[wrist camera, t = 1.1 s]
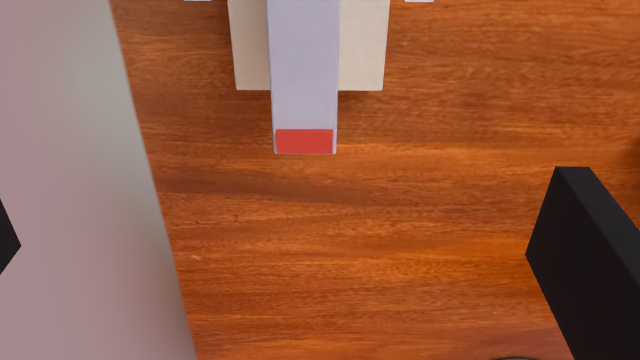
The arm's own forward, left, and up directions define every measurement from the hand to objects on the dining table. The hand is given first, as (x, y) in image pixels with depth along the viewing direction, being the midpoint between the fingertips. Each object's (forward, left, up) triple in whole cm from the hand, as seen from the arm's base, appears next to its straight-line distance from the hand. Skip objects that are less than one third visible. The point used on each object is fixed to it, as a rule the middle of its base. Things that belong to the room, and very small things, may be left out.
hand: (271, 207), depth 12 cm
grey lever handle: (0, +1, -15) cm, 15 cm away
